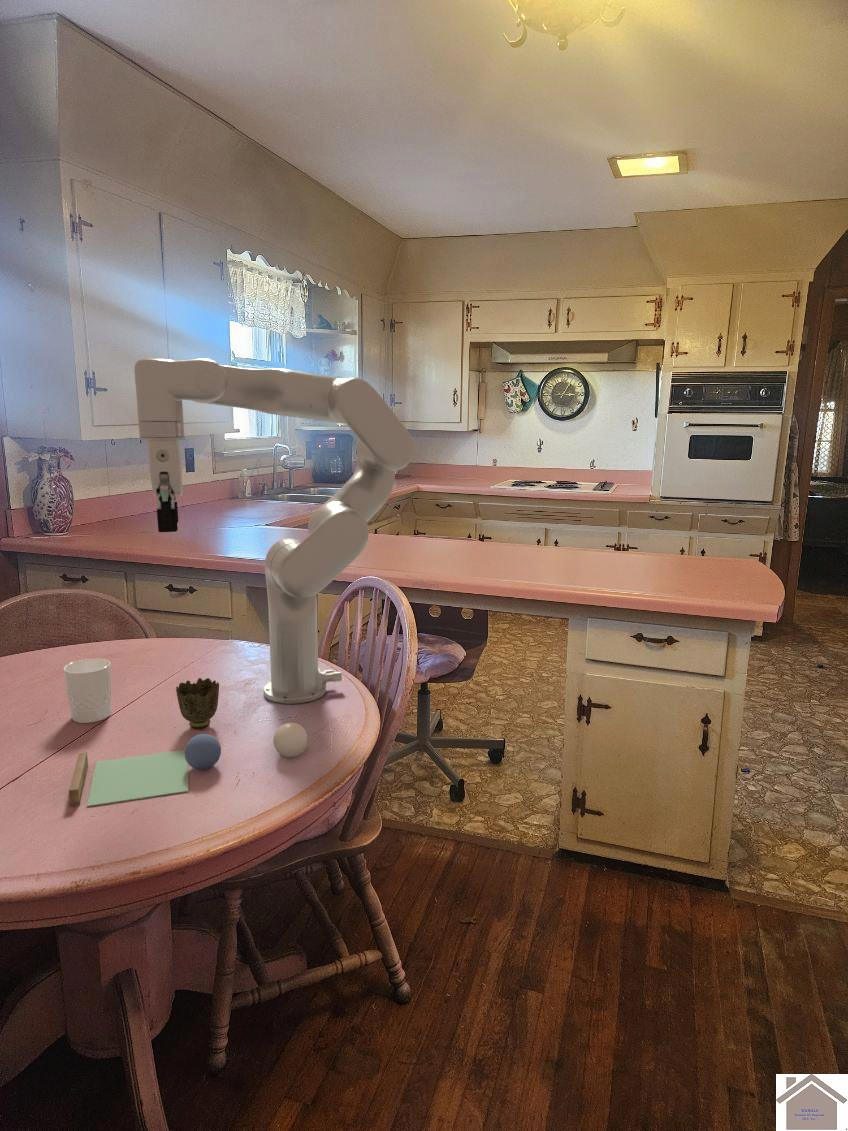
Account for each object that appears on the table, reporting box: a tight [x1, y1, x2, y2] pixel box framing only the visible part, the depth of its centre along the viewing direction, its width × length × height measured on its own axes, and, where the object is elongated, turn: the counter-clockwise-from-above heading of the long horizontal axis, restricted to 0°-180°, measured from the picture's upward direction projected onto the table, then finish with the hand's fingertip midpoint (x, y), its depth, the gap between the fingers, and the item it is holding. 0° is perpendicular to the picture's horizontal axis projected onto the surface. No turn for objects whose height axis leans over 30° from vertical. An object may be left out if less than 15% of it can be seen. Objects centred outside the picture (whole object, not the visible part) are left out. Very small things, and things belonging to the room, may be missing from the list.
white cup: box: [62, 657, 112, 724], centre depth 134 cm, size 8×8×10 cm
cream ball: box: [272, 722, 308, 758], centre depth 120 cm, size 6×6×6 cm
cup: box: [175, 677, 220, 731], centre depth 130 cm, size 8×7×8 cm
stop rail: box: [68, 752, 89, 807], centre depth 110 cm, size 1×12×2 cm, turn 19°
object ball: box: [184, 733, 222, 771], centre depth 116 cm, size 6×6×6 cm
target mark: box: [86, 749, 189, 808], centre depth 113 cm, size 14×14×1 cm
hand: (168, 527), depth 131 cm, fingers open, 9 cm apart
